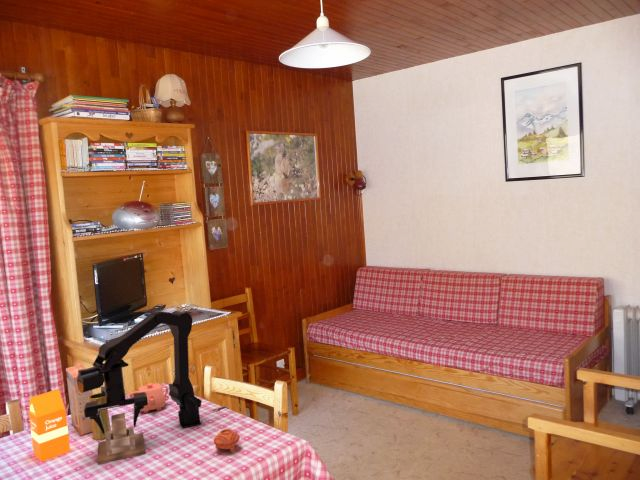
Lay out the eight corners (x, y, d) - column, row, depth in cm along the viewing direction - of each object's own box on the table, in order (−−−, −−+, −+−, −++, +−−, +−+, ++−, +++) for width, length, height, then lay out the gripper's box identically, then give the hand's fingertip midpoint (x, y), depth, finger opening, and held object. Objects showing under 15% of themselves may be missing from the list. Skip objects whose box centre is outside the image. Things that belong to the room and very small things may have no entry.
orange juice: (70, 451, 177) (63, 391, 175) (41, 462, 171) (33, 400, 169) (62, 444, 183) (54, 386, 181) (33, 454, 177) (25, 394, 175)
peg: (127, 442, 178) (124, 412, 177) (128, 447, 175) (124, 417, 174) (114, 445, 177) (111, 415, 176) (114, 450, 173) (111, 420, 172)
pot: (216, 458, 165) (213, 435, 166) (214, 452, 173) (211, 430, 174) (242, 452, 168) (239, 429, 168) (240, 446, 175) (237, 425, 176)
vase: (105, 440, 183) (100, 399, 182) (88, 439, 185) (83, 399, 183) (115, 432, 189) (110, 392, 188) (99, 431, 191) (94, 391, 189)
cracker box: (98, 431, 191) (91, 373, 189) (79, 436, 188) (72, 377, 186) (89, 418, 203) (82, 363, 200) (71, 423, 199) (64, 367, 197)
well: (143, 435, 185) (141, 421, 185) (145, 453, 172) (143, 438, 171) (98, 445, 180) (96, 430, 180) (97, 464, 167) (95, 449, 167)
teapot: (153, 417, 200) (150, 391, 199) (129, 413, 205) (126, 388, 204) (175, 404, 210) (172, 380, 209) (151, 401, 215) (149, 377, 214)
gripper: (143, 369, 185) (148, 414, 186) (83, 380, 178) (88, 426, 180) (145, 380, 174) (150, 427, 176) (81, 392, 168) (87, 440, 169)
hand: (119, 429), depth 175 cm, fingers open, 9 cm apart
